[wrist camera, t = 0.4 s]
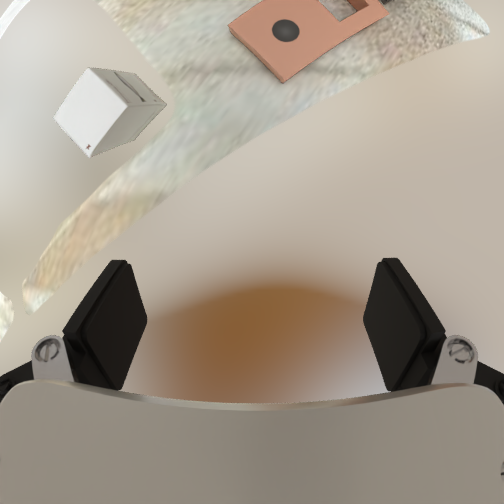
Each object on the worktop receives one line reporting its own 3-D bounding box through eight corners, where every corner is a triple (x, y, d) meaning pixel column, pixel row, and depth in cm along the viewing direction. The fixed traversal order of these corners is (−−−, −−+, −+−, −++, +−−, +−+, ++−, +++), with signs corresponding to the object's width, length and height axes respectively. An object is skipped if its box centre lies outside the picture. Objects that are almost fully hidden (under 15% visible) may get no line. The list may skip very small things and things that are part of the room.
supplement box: (169, 104, 33) (130, 107, 22) (134, 141, 35) (87, 161, 24) (136, 71, 30) (87, 65, 19) (103, 109, 33) (50, 119, 22)
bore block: (282, 83, 31) (285, 80, 28) (230, 32, 28) (227, 25, 24) (378, 20, 25) (389, 13, 22) (330, -29, 22) (337, -40, 18)
